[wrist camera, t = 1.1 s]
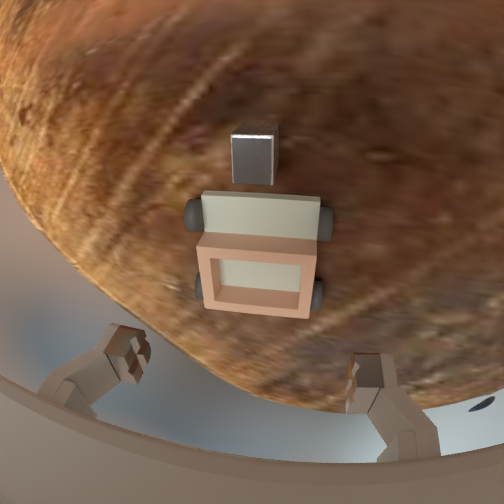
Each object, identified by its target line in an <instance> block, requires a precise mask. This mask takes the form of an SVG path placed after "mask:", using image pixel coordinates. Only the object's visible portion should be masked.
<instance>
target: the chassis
mask: <svg viewBox="0 0 504 504" xmlns="http://www.w3.org/2000/svg"><path fill="white" fill-rule="evenodd" d="M184 221H185V227H186V229H187V231H190V232H202V231H203V229H204V230H205V232H204V234H203V235H202V237H201V239H200V241H199V242H198V244H197V246H196V248H197V255H198V263H199V270H200V271H199V272H198V274H197V277H196V282H195V295H196V298H197V299H204V305H205V308H208V309H217V310H225V311H234V312H242V313H252V314H261V315H271V316H282V317H293V318H305V319H309V312H310V310H315V311H320V310H321V305H322V296H323V281H314V275H315V267H316V259H317V241H326V242H331V238H332V231H333V207H321V206H320V197H315V196H301V195H287V194H271V193H253V192H232V191H204V192H203V194H202V195H201V199H189V200H188V202H187V204H186V208H185V215H184Z"/></svg>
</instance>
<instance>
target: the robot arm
mask: <svg viewBox="0 0 504 504" xmlns="http://www.w3.org/2000/svg"><path fill="white" fill-rule="evenodd" d="M145 337H146V334H145V331H144V330H141V329H136V328H132V327H127V326H123V325H118V324H114V323H111V324H110V325H108V327H107V328H106V330H105V331H104V333H103V335H102V336H101V338H100V339H99V341H98V342H97V344H96V346H95V347H94V349H93V350H89V351H87V352H85V353H83V354H81V355H80V356H78V357H76V358H74V359H73V360H71V361H69V362H68V363H66V364H64V365H62V366H61V367H59V368H57V369H55V370H54V371H52V372H50V373H49V375H48V376H47V378H46V379H45V381H44V383H43V384H42V386H41V387H40V389H39V391H38V392H37V394H36V393H34V392H32V391H30V390H28V389H26V388H24V387H22V386H20V385H18V384H16V383H14V382H12V381H10V380H9V379H7V378H5V377H3V376H1V375H0V504H504V443H503V444H499V445H495V446H491V447H487V448H482V449H478V450H473V451H468V452H463V453H457V454H451V455H445V456H441V453H440V445H439V438H438V432H437V427H436V426H435V425H434V424H433V423H432V421H431V420H430V419H429V418H428V417H427V416H426V415H425V413H424V412H423V411H422V410H421V409H420V408H419V407H418V406H417V404H416V403H415V402H414V401H413V400H412V399H411V398H410V397H409V395H408V394H407V393H406V392H405V391H404V390H403V389H402V388H398V382H397V376H396V370H395V364H394V359H393V355H392V353H363V352H353V354H352V356H351V364H350V365H349V366H348V369H347V373H346V390H347V391H348V394H347V397H346V413H364V414H367V415H368V417H369V418H370V420H371V421H372V423H373V424H374V426H375V428H376V429H377V431H378V432H379V434H380V435H381V437H382V438H383V440H384V441H385V443H386V445H387V448H386V449H385V450H384V451H383V453H381V455H380V456H379V457H378V458H377V462H376V463H313V462H312V463H311V462H294V461H282V460H272V459H263V458H254V457H247V456H240V455H233V454H227V453H221V452H216V451H210V450H205V449H200V448H195V447H191V446H186V445H182V444H178V443H174V442H169V441H165V440H161V439H158V438H154V437H150V436H147V435H143V434H140V433H137V432H133V431H130V430H127V429H123V428H121V427H117V426H115V425H111V424H109V423H106V422H103V421H100V420H98V419H96V417H97V414H96V412H95V411H94V410H93V408H92V407H91V406H90V405H92V404H93V403H94V402H96V401H97V400H98V399H99V398H101V397H102V396H103V395H104V394H105V393H107V392H108V391H109V390H110V389H112V388H113V387H114V386H116V385H117V384H118V383H119V382H120V381H123V382H127V383H132V384H136V385H138V383H139V381H140V379H141V376H142V374H143V370H142V367H144V366H145V365H147V364H148V362H149V359H150V354H151V349H150V345H149V343H148V342H147V341H146V340H145Z"/></svg>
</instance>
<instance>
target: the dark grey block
mask: <svg viewBox="0 0 504 504" xmlns="http://www.w3.org/2000/svg"><path fill="white" fill-rule="evenodd" d="M231 152H232V176H233V183H241V184H262V185H273V184H274V180H275V177H276V173H277V170H278V166H279V124H274V123H242V124H241V125H240V126H239V127H238V128H237V129H236V130H235V131H234V132H233V133H232V134H231Z"/></svg>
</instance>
